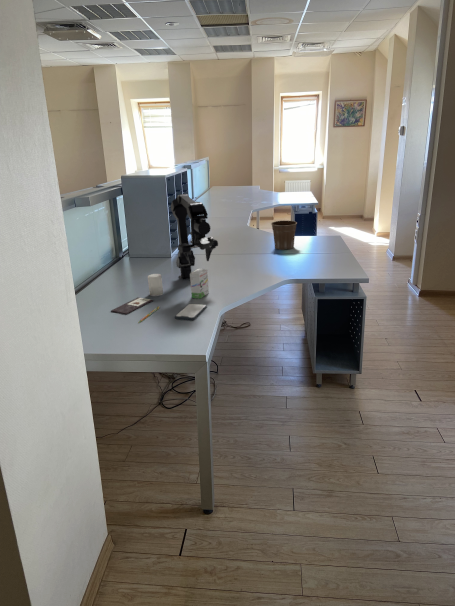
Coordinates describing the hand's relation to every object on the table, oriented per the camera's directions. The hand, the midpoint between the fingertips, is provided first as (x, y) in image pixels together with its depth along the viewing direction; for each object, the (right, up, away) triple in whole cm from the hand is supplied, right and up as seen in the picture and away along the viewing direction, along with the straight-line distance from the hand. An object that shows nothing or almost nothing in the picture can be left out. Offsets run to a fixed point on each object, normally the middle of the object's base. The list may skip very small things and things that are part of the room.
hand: (199, 262), depth 212 cm
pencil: (-20, -25, -24) cm, 39 cm away
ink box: (+1, -16, -3) cm, 16 cm away
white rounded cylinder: (-21, -15, +2) cm, 25 cm away
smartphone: (-2, -24, -23) cm, 33 cm away
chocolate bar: (-29, -21, -12) cm, 38 cm away
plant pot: (+50, +16, +75) cm, 92 cm away
